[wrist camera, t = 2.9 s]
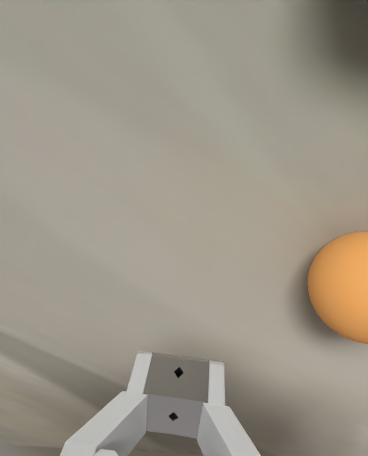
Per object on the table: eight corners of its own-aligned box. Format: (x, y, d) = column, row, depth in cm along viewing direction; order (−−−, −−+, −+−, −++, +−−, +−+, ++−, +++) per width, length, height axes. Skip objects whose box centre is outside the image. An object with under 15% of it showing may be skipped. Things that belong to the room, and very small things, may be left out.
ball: (287, 288, 20) (311, 362, 15) (310, 208, 17) (348, 266, 13) (377, 298, 20) (429, 376, 15) (414, 218, 17) (491, 281, 12)
